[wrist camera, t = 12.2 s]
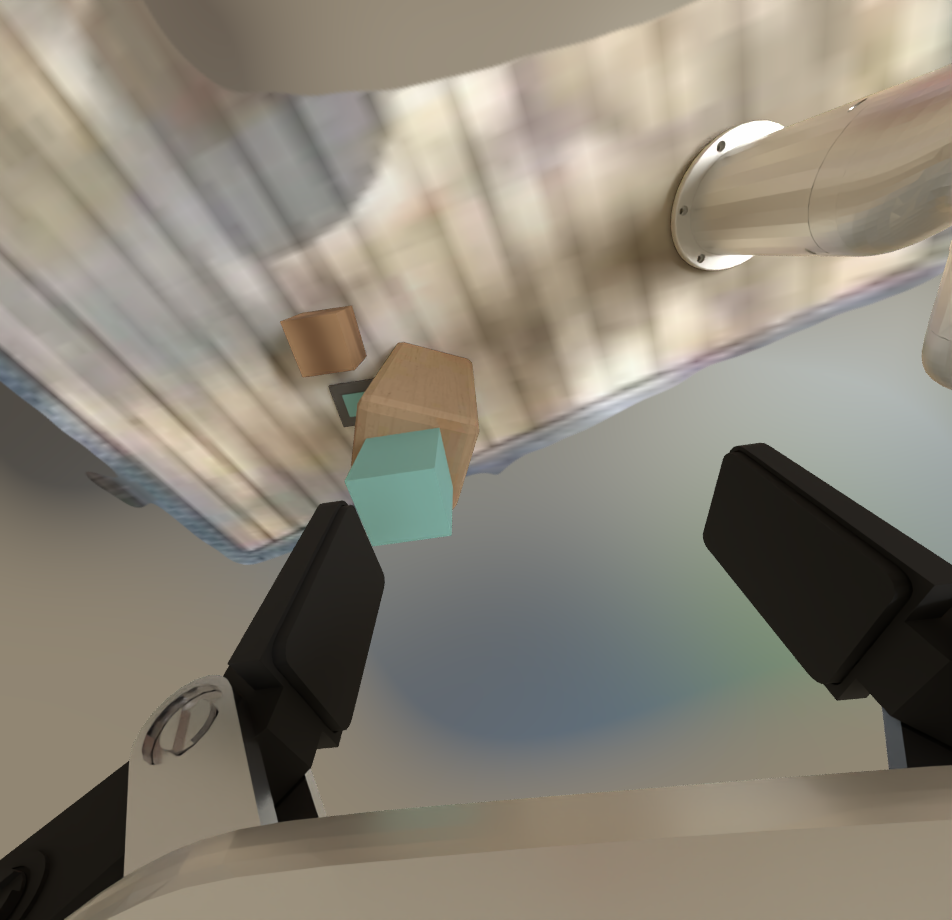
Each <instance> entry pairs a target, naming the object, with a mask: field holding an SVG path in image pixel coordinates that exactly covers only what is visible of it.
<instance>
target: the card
mask: <svg viewBox="0 0 952 920" xmlns="http://www.w3.org/2000/svg"><path fill="white" fill-rule="evenodd" d="M372 381H373V379H369V380H363V381H356V382H349V383H343V384H336V385H329V386H328V387H329V389H330V392H331V395H332V397H333V400H334V402H335V405H336V408H337V410H338V413H339V416H340V418H341V421H342V424H343V426H344V427H348V426H355V422H356V412H357V403H358V402H359V400H360V398H361V397H362V395H363V394H364V392H365V391H366V389H367V388H368V387H369V385H370V384H371V382H372Z"/></svg>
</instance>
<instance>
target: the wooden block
mask: <svg viewBox="0 0 952 920" xmlns="http://www.w3.org/2000/svg"><path fill="white" fill-rule="evenodd" d="M434 428H440V432H441V437H442V441H443V446H444V450H445V455H446V459H447V463H448V468H449V472H450V477H451V481H452V486H453V504H452V510H453V509H454V507H455V506H456V505H457V502H458V499H459V496H460V492H461V489H462V486H463V482H464V479H465V476H466V473H467V470H468V466H469V463H470V460H471V457H472V453H473V450H474V447H475V444H476V440H477V437H478V434H479V424H478V414H477V405H476V395H475V386H474V376H473V367H472V362H471V361H469V360H468V359H466V358H462V357H458V356H454V355H450V354H447V353H443V352H439V351H435V350H431V349H428V348H424V347H420V346H416V345H412V344H408V343H405V342H403V343H398V344H397V345H396V347H395V348H394V350H393V351H392V353H391V354H390V356H389V357H388V359H387V360H386V361H385V363H384V364H383V366H382V367H381V369H380V370H379V372H378V373H377V375H376V376H375V378H374V379H373V381H372V382H371V384H370V385H369V387H368V388H367V389H366V391H365V392H364V394H363V395H362V397H361V398H360V400H359V402H358V403H357V412H356V422H355V432H354V442H353V452H352V462H351V468H352V466H353V464H354V462H355V460H356V458H357V456H358V454H359V452H360V450H361V448H362V446H363V444H364V442H365V440H366V439H367V438H374V437H381V436H387V435H394V434H401V433H407V432H414V431H420V430H427V429H434Z"/></svg>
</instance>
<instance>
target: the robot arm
mask: <svg viewBox="0 0 952 920" xmlns="http://www.w3.org/2000/svg"><path fill="white" fill-rule="evenodd" d="M716 147H717V150H716ZM680 209H681V213H680V212H679V211H680ZM950 226H952V63H951V64H949V65H947V66H944V67H942V68H939V69H936V70H934V71H931V72H929V73H926V74H923V75H921V76H918V77H916V78H913V79H910V80H908V81H905V82H903V83H900V84H898V85H895V86H892V87H890V88H887V89H884V90H882V91H879V92H877V93H874V94H871V95H869V96H866V97H863V98H861V99H858V100H856V101H853V102H850V103H848V104H845V105H843V106H840V107H837V108H835V109H832V110H829V111H827V112H824V113H822V114H819V115H816V116H814V117H811V118H808V119H806V120H803V121H801V122H798V123H795V124H793V125H790V126H787V127H784V126H782V125H781V124H779V123H777V122H773V121H769V120H753V121H750V122H746V123H743V124H740V125H738V126H735V127H733V128H731V129H729V130H727V131H726V132H724V133H723V134H721V135H719V136H718V137H716V138H715V139H714V140H713V141H712V142H710V143H709V144H708V145H707V146H706V147H705V148H704V149H703V150H702V151H701V152H700V154H699V155H698V156H697V157H696V158H695V159H694V161H693V162H692V164H691V165H690V167H689V168H688V170H687V171H686V173H685V175H684V177H683V179H682V181H681V183H680V185H679V187H678V190H677V193H676V196H675V200H674V203H673V209H672V215H671V232H672V238H673V242H674V244H675V247H676V250H677V251H678V253H679V254H680V256H681V257H682V259H684V260H685V261H686V262H687V263H688V264H689V265H691V266H693V267H696V268H698V269H703V270H713V271H718V270H725V269H729V268H732V267H735V266H738V265H740V264H742V263H743V262H745V261H747V260H749V259H750V258H752V257H753V256H754V255H768V256H845V257H862V256H874V255H880V254H885V253H889V252H893V251H896V250H899V249H902V248H905V247H908V246H911V245H913V244H916V243H918V242H921V241H923V240H925V239H927V238H929V237H931V236H933V235H935V234H937V233H939V232H941V231H943V230H945V229H947V228H949V227H950ZM949 251H950V253H949V256H948V259H947V263H946V266H945V269H944V273H943V276H942V279H941V283H940V286H939V289H938V292H937V296H936V299H935V302H934V305H933V309H932V312H931V315H930V318H929V322H928V327H927V330H926V334H925V338H924V343H923V348H922V364H923V367H924V369H925V371H926V373H927V374H928V375H929V376H930V377H931V379H933V380H934V381H935V382H937V383H938V384H940V385H942V386H943V387H946V388H948V389H951V390H952V241H951V244H950V247H949ZM697 258H698V260H697ZM703 540H704V543H705V545H706V547H707V548H708V550H709V551H710V552H711V553H712V554H713V556H714V557H715V558H716V559H717V561H718V562H719V563H720V565H721V566H722V567H723V568H724V569H725V571H726V572H727V573H728V575H729V576H730V577H731V578H732V579H733V581H734V582H735V583H736V584H737V586H738V587H739V588H740V589H741V591H742V592H743V593H744V594H745V596H746V597H747V598H748V599H749V601H750V602H751V603H752V604H753V606H754V607H755V608H756V609H757V611H758V612H759V613H760V614H761V616H762V617H763V618H764V619H765V621H766V622H767V623H768V624H769V626H770V627H771V628H772V629H773V631H774V632H775V633H776V634H777V636H778V637H779V638H780V639H781V641H782V642H783V643H784V644H785V646H786V647H787V648H788V649H789V650H790V652H791V653H792V654H793V656H795V658H796V659H797V661H798V662H799V663H800V664H801V665H802V667H803V668H804V669H805V670H806V672H807V673H808V674H809V675H810V676H811V677H812V678H813V679H814V680H816V681H817V682H819V683H821V684H824V685H825V686H826V688H827V689H828V690H829V692H830V693H831V694H832V695H833V696H834V697H835V699H836V700H847V699H859V698H866V697H867V696H868V695H869V694H871V695H872V696H873V697H874V698H875V700H876V701H877V702H878V703H879V704H880V705H881V706H882V712H883V720H884V730H885V739H886V748H887V757H888V765H889V770H878V771H864V772H851V773H838V774H825V775H811V776H799V777H785V778H772V779H759V780H746V781H733V782H721V783H709V784H696V785H685V786H684V785H683V786H671V787H658V788H647V789H634V790H622V791H609V792H597V793H585V794H573V795H561V796H548V797H536V798H525V799H514V800H502V801H490V802H478V803H467V804H455V805H443V806H432V807H420V808H408V809H397V810H385V811H376V812H366V813H357V814H348V815H339V816H330V817H327V814H326V811H325V808H324V805H323V803H322V799H321V797H320V794H319V791H318V788H317V785H316V782H315V779H314V776H313V773H312V771H311V766H312V763H313V760H314V756H315V753H316V750H317V749H321V748H332V747H338V746H339V742H340V738H341V734H342V731H343V730H346V729H347V728H348V727H349V725H350V723H351V720H352V716H353V712H354V708H355V704H356V700H357V696H358V692H359V687H360V684H361V679H362V675H363V671H364V667H365V663H366V659H367V655H368V651H369V647H370V643H371V638H372V634H373V630H374V626H375V622H376V618H377V614H378V610H379V606H380V601H381V598H382V594H383V589H384V583H385V581H384V574H383V572H382V569H381V567H380V564H379V562H378V560H377V558H376V555H375V553H374V551H373V549H372V546H371V544H370V542H369V539H368V537H367V535H366V532H365V530H364V528H363V526H362V523H361V521H360V519H359V517H358V514H357V512H356V510H355V508H354V507H353V506H352V505H348V504H347V503H346V502H345V501H336V502H329V503H322V504H320V505H319V506H318V507H317V509H316V511H315V513H314V514H313V516H312V518H311V520H310V521H309V523H308V525H307V526H306V528H305V530H304V532H303V533H302V535H301V537H300V539H299V540H298V542H297V544H296V546H295V547H294V549H293V551H292V553H291V554H290V556H289V558H288V560H287V561H286V563H285V565H284V566H283V568H282V570H281V572H280V573H279V575H278V577H277V579H276V580H275V582H274V584H273V586H272V587H271V589H270V591H269V592H268V594H267V596H266V598H265V599H264V601H263V603H262V605H261V606H260V608H259V610H258V612H257V613H256V615H255V617H254V618H253V620H252V622H251V624H250V625H249V627H248V629H247V631H246V632H245V634H244V636H243V638H242V639H241V641H240V643H239V645H238V646H237V648H236V650H235V651H234V653H233V655H232V657H231V659H230V660H229V662H228V665H229V667H228V669H227V670H226V672H225V674H224V676H223V677H222V676H220V675H208V676H205V677H202V678H199V679H196V680H194V681H192V682H190V683H189V684H187V685H185V686H183V687H181V688H180V689H179V690H177V691H176V692H175V693H174V694H172V695H171V696H170V697H168V698H167V699H166V700H165V701H164V702H163V703H162V704H161V705H160V706H159V707H158V708H157V709H156V710H155V711H154V712H153V713H152V715H151V716H150V717H149V719H148V720H147V721H146V723H145V724H144V725H143V727H142V728H141V730H140V732H139V734H138V736H137V738H136V739H135V741H134V744H133V746H132V751H131V754H130V759H129V761H128V762H127V763H126V764H124V765H123V766H122V767H120V768H119V769H118V770H116V771H115V772H114V773H113V774H111V775H110V776H109V777H107V778H106V779H105V780H104V781H102V782H101V783H100V784H98V785H97V786H96V787H94V788H93V789H92V790H91V791H89V792H88V793H87V794H85V795H84V796H83V797H82V798H80V799H79V800H78V801H76V802H75V803H74V804H72V805H71V806H70V807H69V808H67V809H66V810H65V811H63V812H62V813H61V814H59V815H58V816H57V817H56V818H54V819H53V820H52V821H51V822H49V823H48V824H47V825H45V826H44V827H43V828H41V829H40V830H39V831H37V832H36V833H35V834H33V835H32V836H31V837H30V838H28V839H27V840H26V841H24V842H23V843H22V844H20V845H19V846H18V847H17V848H15V849H14V850H13V851H11V852H10V853H9V854H7V855H6V856H5V857H4V858H2V859H1V860H0V920H952V565H951V564H950V563H948V562H946V561H945V560H944V559H942V558H940V557H939V556H937V555H936V554H934V553H933V552H931V551H930V550H928V549H927V548H925V547H924V546H922V545H921V544H919V543H917V542H916V541H914V540H913V539H911V538H910V537H908V536H907V535H905V534H904V533H902V532H901V531H899V530H898V529H896V528H895V527H893V526H891V525H890V524H888V523H887V522H885V521H884V520H882V519H881V518H879V517H878V516H876V515H875V514H873V513H872V512H870V511H868V510H867V509H865V508H864V507H862V506H861V505H859V504H858V503H856V502H855V501H853V500H852V499H850V498H848V497H847V496H845V495H844V494H842V493H841V492H839V491H838V490H836V489H835V488H833V487H832V486H830V485H829V484H827V483H826V482H824V481H822V480H821V479H819V478H818V477H816V476H815V475H813V474H812V473H810V472H809V471H807V470H805V469H804V468H803V467H801V466H800V465H798V464H797V463H795V462H793V461H792V460H790V459H789V458H787V457H786V456H784V455H782V454H781V453H780V452H778V451H776V450H775V449H774V448H772V447H770V446H769V445H767V444H765V443H756V444H748V445H741V446H736V447H733V448H732V450H730V453H728V454H726V455H725V456H724V458H723V461H722V465H721V469H720V473H719V476H718V480H717V484H716V487H715V491H714V495H713V498H712V502H711V506H710V510H709V513H708V517H707V521H706V524H705V528H704V532H703Z"/></svg>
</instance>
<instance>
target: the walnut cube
mask: <svg viewBox="0 0 952 920" xmlns="http://www.w3.org/2000/svg"><path fill="white" fill-rule="evenodd" d="M280 323H281V325H282V328H283V330H284V332H285V335H286V337H287V340H288V342H289V345H290V347H291V350H292V352H293V355H294V357H295V360H296V362H297V364H298V367H299V369H300V372H301V374H302V377H309V376H316V375H323V374H330V373H337V372H344V371H351V370H355V369H356V368H357V367H358V365H359V364H360V363H361V362H362V361H363V360H364V359H365V358H366V356H367V355H366V352H365V349H364V345H363V342H362V339H361V335H360V332H359V328H358V325H357V322H356V318H355V315H354V312H353V308H352V306H345V307H339V308H332V309H325V310H319V311H312V312H305V313H301V314H299V315H296V316H293V317H291V318H288V319H286V320H283V321H281V322H280Z"/></svg>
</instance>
